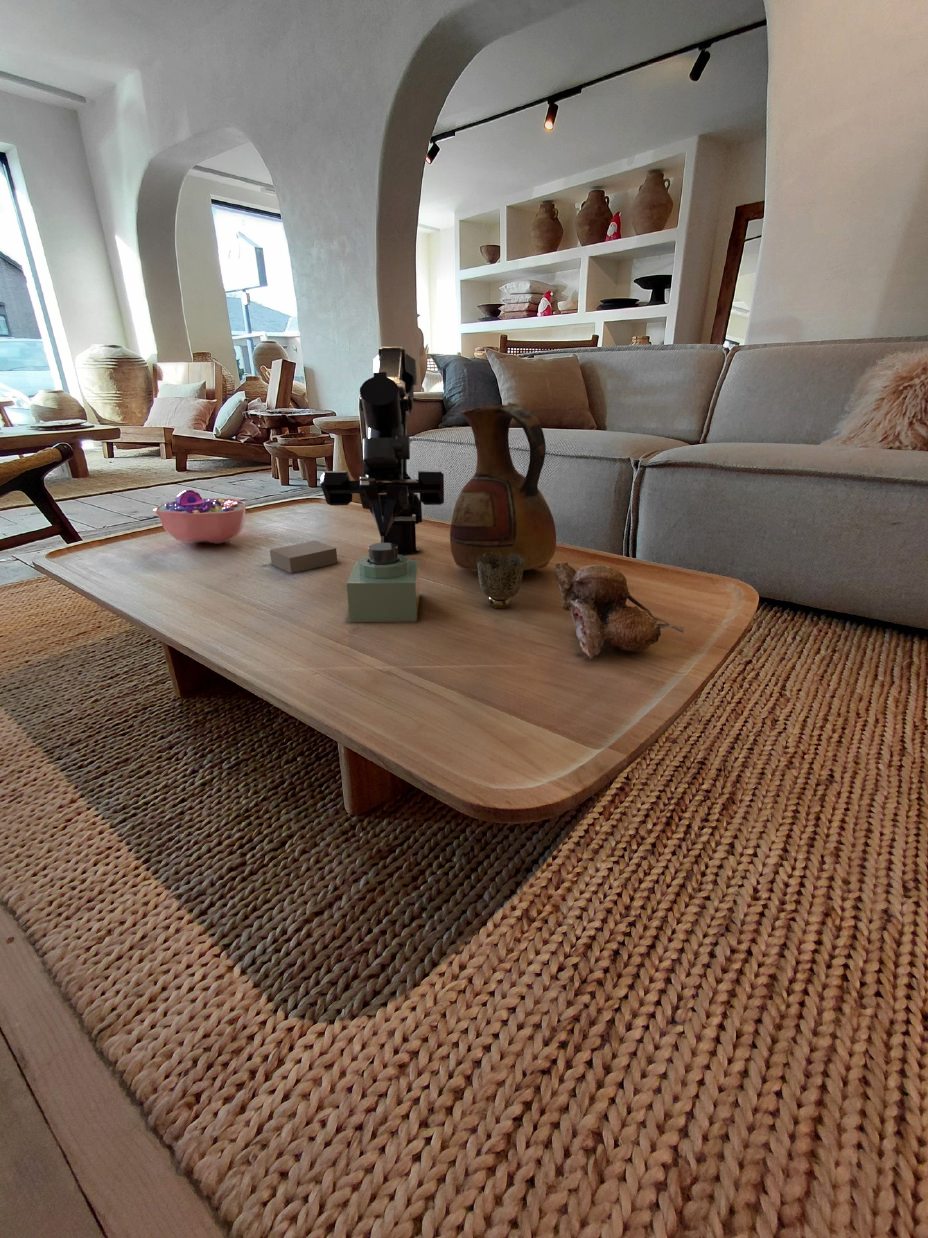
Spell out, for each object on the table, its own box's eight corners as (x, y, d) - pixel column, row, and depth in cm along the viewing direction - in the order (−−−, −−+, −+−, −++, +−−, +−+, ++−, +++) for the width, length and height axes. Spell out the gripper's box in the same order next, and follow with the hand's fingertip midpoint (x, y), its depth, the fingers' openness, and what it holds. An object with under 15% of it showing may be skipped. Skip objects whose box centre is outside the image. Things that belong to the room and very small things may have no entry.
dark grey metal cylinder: (371, 558, 90) (370, 542, 89) (399, 558, 90) (398, 542, 89) (367, 567, 86) (366, 550, 85) (397, 566, 86) (396, 550, 85)
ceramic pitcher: (485, 549, 123) (488, 399, 111) (572, 566, 112) (585, 401, 100) (428, 572, 108) (424, 402, 96) (521, 594, 97) (530, 405, 86)
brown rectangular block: (316, 554, 119) (315, 540, 118) (337, 562, 114) (336, 548, 113) (271, 564, 113) (269, 549, 112) (291, 573, 107) (289, 558, 106)
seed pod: (578, 567, 89) (528, 559, 77) (685, 563, 79) (647, 553, 67) (576, 653, 89) (526, 657, 77) (683, 659, 79) (645, 665, 67)
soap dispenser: (359, 596, 96) (355, 550, 93) (419, 596, 96) (417, 549, 93) (349, 622, 86) (345, 571, 83) (416, 621, 86) (414, 570, 83)
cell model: (211, 558, 117) (201, 502, 112) (144, 546, 125) (132, 493, 120) (270, 538, 131) (264, 488, 126) (206, 529, 139) (198, 481, 134)
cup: (527, 600, 94) (529, 553, 91) (516, 617, 88) (518, 566, 85) (484, 595, 97) (484, 549, 93) (470, 611, 90) (470, 561, 87)
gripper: (316, 415, 85) (308, 505, 79) (442, 415, 86) (444, 504, 80) (330, 463, 95) (324, 545, 90) (443, 462, 96) (444, 544, 90)
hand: (382, 534), depth 87 cm, fingers closed
